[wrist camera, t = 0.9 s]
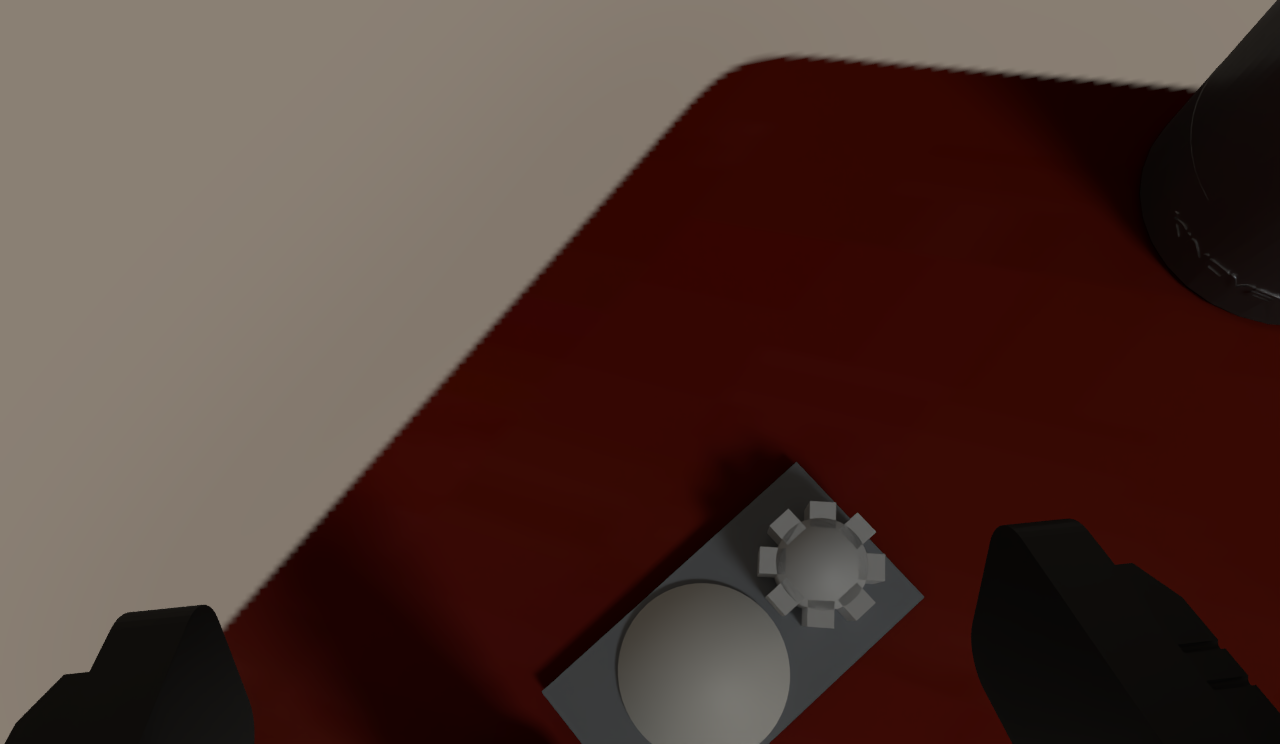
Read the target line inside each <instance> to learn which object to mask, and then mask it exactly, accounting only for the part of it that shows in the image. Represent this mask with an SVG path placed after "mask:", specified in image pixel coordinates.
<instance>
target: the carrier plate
mask: <svg viewBox="0 0 1280 744" xmlns="http://www.w3.org/2000/svg"><path fill="white" fill-rule="evenodd" d="M875 533H876V531H875V530H874V529H873V528H872V527H871V526H870V525H869V524H868V523H867V522H866V521H865V520H864V519H863V518H862V517H861V516H860V515H859V513H856V514H855V515H854V516H853V517H852V518H851V519H850V518H849V517H848V516H847V515H846V514H845V513H844V512H843V511H842V510H841V509H840V507H839V506H838V505H837V504H836V502H834V501H833V500H832V499H831V498H830V497H829V496H828V495H827V494H826V493H825V492H824V491H823V489H822V488H821V487H820V486H819V485H818V484H817V483H816V482H815V481H814V480H813V479H812V478H811V477H810V476H809V475H808V474H807V473H806V472H805V470H804V469H803V468H802V467H801V466H800V465H799V464H798V463H797V462H796V463H795V464H794V465H792V466H791V467H790V468H789V469H788V470H787V471H786V472H785V473H784V474H782V475H781V476H780V477H779V478H778V479H777V480H776V481H775V482H774V483H773V484H771V485H770V486H769V487H768V488H767V489H766V490H765V491H764V492H763V493H761V494H760V495H759V496H758V497H757V498H756V499H755V500H754V501H753V502H751V503H750V504H749V505H748V506H747V507H746V508H745V509H744V510H743V511H741V512H740V513H739V514H738V515H737V516H736V517H735V518H734V519H733V520H732V521H730V522H729V523H728V524H727V525H726V526H725V527H724V528H723V529H722V530H720V531H719V532H718V533H717V534H716V535H715V536H714V537H713V538H712V539H710V540H709V541H708V542H707V543H706V544H705V545H704V546H703V547H702V548H700V549H699V550H698V551H697V552H696V553H695V554H694V555H693V556H692V557H691V558H689V559H688V560H687V561H686V562H685V563H684V564H683V565H682V566H681V567H679V568H678V569H677V570H676V571H675V572H674V573H673V574H672V575H671V576H669V577H668V578H667V579H666V580H665V581H664V582H663V583H662V584H661V585H659V586H658V587H657V588H656V589H655V590H654V591H653V592H652V593H651V594H649V595H648V596H647V597H646V598H645V599H644V600H643V601H642V602H641V603H640V604H638V605H637V606H636V607H635V608H634V609H633V610H632V611H631V612H630V613H628V614H627V615H626V616H625V617H624V618H623V619H622V620H621V621H620V622H618V623H617V624H616V625H615V626H614V627H613V628H612V629H611V630H610V631H608V632H607V633H606V634H605V635H604V636H603V637H602V638H601V639H600V640H599V641H597V642H596V643H595V644H594V645H593V646H592V647H591V648H590V649H589V650H587V651H586V652H585V653H584V654H583V655H582V656H581V657H580V658H579V659H577V660H576V661H575V662H574V663H573V664H572V665H571V666H570V667H569V668H567V669H566V670H565V671H564V672H563V673H562V674H561V675H560V676H559V677H558V678H556V679H555V680H554V681H553V682H552V683H551V684H550V685H549V686H548V687H546V688H545V689H544V690H543V691H542V693H543V694H544V696H545V697H546V698H547V699H548V701H549V702H550V703H551V705H552V706H553V707H554V708H555V710H556V711H557V712H558V714H559V715H560V716H561V717H562V719H563V720H564V721H565V722H566V724H567V725H568V726H569V728H570V729H571V730H572V731H573V733H574V734H575V735H576V737H577V738H578V739H579V740H580V742H581V743H582V744H769V743H770V742H771V741H772V740H773V739H774V738H775V737H776V736H777V735H778V734H779V733H780V732H781V731H782V730H783V729H785V728H786V727H787V726H788V725H789V724H790V723H791V722H792V721H793V720H794V719H795V718H796V717H797V716H798V715H799V714H801V713H802V712H803V711H804V710H805V709H806V708H807V707H808V706H809V705H810V704H811V703H812V702H813V701H814V700H815V699H816V698H818V697H819V696H820V695H821V694H822V693H823V692H824V691H825V690H826V689H827V688H828V687H829V686H830V685H831V684H832V683H834V682H835V681H836V680H837V679H838V678H839V677H840V676H841V675H842V674H843V673H844V672H845V671H846V670H847V669H848V668H849V667H851V666H852V665H853V664H854V663H855V662H856V661H857V660H858V659H859V658H860V657H861V656H862V655H863V654H864V653H865V652H867V651H868V650H869V649H870V648H871V647H872V646H873V645H874V644H875V643H876V642H877V641H878V640H879V639H880V638H881V637H882V636H884V635H885V634H886V633H887V632H888V631H889V630H890V629H891V628H892V627H893V626H894V625H895V624H896V623H897V622H898V621H900V620H901V619H902V618H903V617H904V616H905V615H906V614H907V613H908V612H909V611H910V610H911V609H912V608H913V607H914V606H915V605H917V604H918V603H919V602H920V601H921V600H922V599H923V598H924V596H923V595H922V594H921V593H920V592H919V591H918V590H917V589H916V588H915V587H914V586H913V585H912V584H911V583H910V582H909V580H908V579H907V578H906V577H905V576H904V575H903V574H902V573H901V572H900V571H899V570H898V569H897V568H896V567H895V566H894V565H893V564H892V563H891V561H890V560H889V559H888V558H887V557H886V556H885V554H883V553H882V552H881V551H880V550H879V549H878V548H877V547H876V546H875V545H874V543H873V542H872V541H871V540H870V539H869V538H870V537H871V536H872V535H873V534H875Z"/></svg>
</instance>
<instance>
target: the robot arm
mask: <svg viewBox="0 0 1280 744" xmlns="http://www.w3.org/2000/svg"><path fill="white" fill-rule="evenodd" d="M1140 199H1141V207H1142V215H1143V220H1144V222H1145V225H1146V228H1147V231H1148V233H1149V236H1150V239H1151V241H1152V243H1153V245H1154V247H1155V248H1156V250H1157V251H1158V253H1159V254H1160V256H1161V257H1162V259H1163V261H1164V262H1165V264H1166V265H1167V266H1168V267H1169V268H1170V269H1171V271H1172V272H1173V273H1174V274H1175V275H1176V276H1177V277H1178V278H1179V279H1180V280H1181V281H1182V282H1183V283H1184V284H1185V285H1186V286H1187V287H1188V288H1190V289H1191V290H1193V291H1194V292H1196V293H1197V294H1198V295H1200V296H1201V297H1203V298H1204V299H1205V300H1207V301H1208V302H1210V303H1211V304H1213V305H1216V306H1218V307H1220V308H1222V309H1224V310H1226V311H1228V312H1231V313H1233V314H1235V315H1237V316H1240V317H1244V318H1247V319H1251V320H1255V321H1259V322H1263V323H1266V324H1275V325H1280V0H1277V1H1276V2H1275V3H1274V5H1272V7H1271V8H1270V9H1269V10H1268V11H1267V12H1266V13H1265V15H1264V16H1263V17H1262V18H1261V19H1260V20H1259V21H1258V23H1257V24H1256V25H1255V26H1254V27H1253V28H1252V29H1251V31H1250V32H1249V33H1248V34H1247V35H1246V36H1245V37H1244V38H1243V40H1242V41H1241V42H1240V43H1239V44H1238V45H1237V46H1236V48H1235V49H1234V50H1233V51H1232V52H1231V53H1230V54H1229V56H1228V57H1227V58H1226V59H1225V60H1224V61H1223V62H1222V64H1220V65H1219V66H1218V68H1216V70H1215V71H1214V72H1213V73H1212V74H1211V75H1210V77H1209V78H1208V79H1207V80H1206V81H1205V82H1204V83H1203V85H1202V86H1201V87H1200V88H1199V89H1198V90H1197V91H1196V93H1195V94H1194V95H1193V96H1192V97H1191V98H1190V99H1189V101H1188V102H1187V103H1186V104H1185V105H1184V106H1183V107H1182V109H1181V110H1180V111H1179V112H1178V113H1177V114H1176V115H1175V117H1174V118H1173V119H1172V120H1171V121H1170V122H1169V124H1168V125H1167V126H1166V127H1165V128H1164V130H1163V131H1162V132H1161V134H1160V135H1159V137H1158V138H1157V140H1156V141H1155V142H1154V144H1153V145H1152V147H1151V149H1150V151H1149V154H1148V157H1147V159H1146V162H1145V164H1144V167H1143V170H1142V178H1141V187H1140ZM971 643H972V652H973V658H974V663H975V667H976V670H977V673H978V677H979V679H980V682H981V684H982V686H983V688H984V690H985V692H986V694H987V696H988V698H989V700H990V702H991V704H992V706H993V707H994V709H995V711H996V713H997V715H998V717H999V719H1000V721H1001V723H1002V724H1003V726H1004V728H1005V730H1006V732H1007V734H1008V736H1009V738H1010V740H1011V741H1012V743H1013V744H1280V713H1279V712H1278V711H1277V709H1276V708H1275V707H1274V706H1273V705H1272V704H1271V702H1270V701H1269V700H1268V699H1267V698H1266V696H1265V695H1264V694H1263V693H1262V692H1261V690H1260V689H1259V688H1258V687H1257V686H1256V685H1253V686H1251V685H1250V683H1249V681H1248V675H1247V674H1246V673H1245V671H1244V670H1243V669H1242V668H1241V667H1240V666H1239V664H1238V663H1237V662H1236V661H1235V660H1234V658H1233V657H1232V656H1231V655H1230V654H1229V652H1228V651H1227V650H1226V649H1220V648H1219V646H1218V639H1217V638H1216V637H1215V636H1214V635H1213V633H1212V632H1211V631H1210V630H1209V629H1208V628H1207V626H1206V625H1205V624H1204V623H1203V622H1202V620H1201V619H1200V618H1199V617H1198V616H1197V614H1196V613H1195V612H1194V611H1193V610H1192V609H1191V607H1190V606H1189V605H1188V604H1187V603H1186V601H1185V600H1184V599H1183V598H1182V597H1181V596H1179V595H1178V594H1176V593H1175V592H1174V591H1172V590H1171V589H1169V588H1168V587H1166V586H1165V585H1163V584H1162V583H1160V582H1159V581H1158V580H1156V579H1155V578H1153V577H1152V576H1150V575H1149V574H1147V573H1146V572H1145V571H1143V570H1142V569H1140V568H1139V567H1137V566H1136V565H1134V564H1133V563H1129V564H1120V565H1114V563H1113V562H1112V561H1111V559H1110V558H1109V557H1108V556H1107V554H1106V553H1105V552H1104V551H1103V549H1102V548H1101V547H1100V546H1099V544H1098V543H1097V542H1096V540H1095V539H1094V538H1093V537H1092V535H1091V534H1090V533H1089V532H1088V530H1087V529H1086V528H1085V527H1084V526H1083V525H1082V524H1080V523H1079V522H1078V521H1076V520H1074V519H1060V520H1050V521H1041V522H1031V523H1021V524H1011V525H1003V526H999V527H998V528H997V529H996V530H995V531H994V533H993V535H992V537H991V541H990V545H989V550H988V554H987V559H986V564H985V568H984V573H983V578H982V582H981V587H980V591H979V596H978V601H977V605H976V610H975V615H974V619H973V624H972V632H971ZM5 744H254V721H253V713H252V709H251V705H250V702H249V699H248V697H247V694H246V691H245V689H244V686H243V683H242V681H241V678H240V675H239V673H238V670H237V668H236V665H235V662H234V660H233V657H232V654H231V652H230V649H229V646H228V644H227V641H226V639H225V636H224V633H223V631H222V628H221V625H220V623H219V620H218V618H217V616H216V614H215V612H214V611H213V609H212V608H211V607H209V606H207V605H197V606H187V607H178V608H168V609H158V610H148V611H138V612H129V613H125V614H123V615H122V616H120V617H119V618H118V619H117V620H116V622H115V623H114V625H113V626H112V628H111V630H110V632H109V634H108V636H107V638H106V640H105V642H104V644H103V646H102V648H101V650H100V652H99V654H98V656H97V658H96V660H95V662H94V664H93V666H92V668H91V670H90V672H85V673H75V674H66V675H63V676H62V678H60V679H59V680H58V681H57V683H55V684H54V685H53V686H52V687H51V688H50V689H49V691H47V693H45V695H43V696H42V697H41V698H40V700H38V701H37V703H36V704H34V705H33V706H32V707H31V709H30V710H29V711H28V712H26V714H24V716H23V717H22V718H21V719H20V720H19V721H18V722H17V723H16V724H15V726H14V728H13V729H12V731H11V733H10V735H9V737H8V739H7V740H6V742H5Z"/></svg>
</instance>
